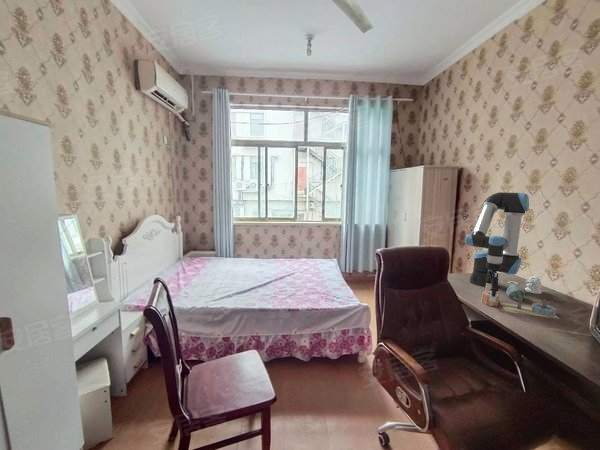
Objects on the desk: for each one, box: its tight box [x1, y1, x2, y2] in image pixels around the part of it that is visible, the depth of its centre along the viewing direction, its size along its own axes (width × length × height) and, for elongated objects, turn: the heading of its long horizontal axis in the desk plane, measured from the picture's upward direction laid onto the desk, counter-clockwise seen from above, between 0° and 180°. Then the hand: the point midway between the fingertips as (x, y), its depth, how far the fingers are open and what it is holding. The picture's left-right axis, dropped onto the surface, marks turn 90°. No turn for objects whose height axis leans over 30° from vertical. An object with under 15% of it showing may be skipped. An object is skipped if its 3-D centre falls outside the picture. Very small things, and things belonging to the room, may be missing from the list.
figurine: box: [524, 274, 543, 295], centre depth 195 cm, size 12×9×10 cm
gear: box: [531, 302, 557, 316], centre depth 162 cm, size 10×10×3 cm
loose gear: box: [481, 290, 500, 307], centre depth 174 cm, size 8×8×6 cm
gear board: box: [499, 296, 560, 320], centre depth 164 cm, size 14×24×8 cm, turn 67°
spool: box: [506, 284, 526, 302], centre depth 182 cm, size 14×10×10 cm
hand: (490, 297), depth 174 cm, fingers open, 13 cm apart
